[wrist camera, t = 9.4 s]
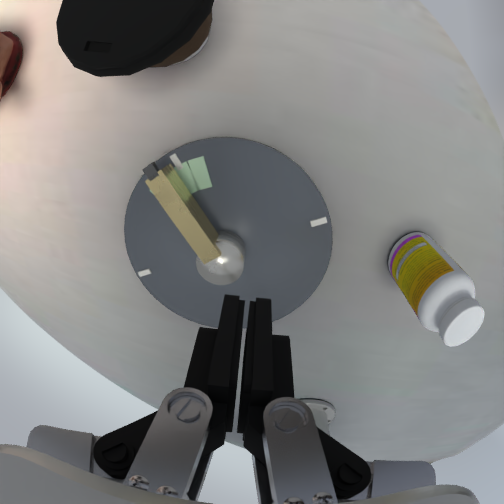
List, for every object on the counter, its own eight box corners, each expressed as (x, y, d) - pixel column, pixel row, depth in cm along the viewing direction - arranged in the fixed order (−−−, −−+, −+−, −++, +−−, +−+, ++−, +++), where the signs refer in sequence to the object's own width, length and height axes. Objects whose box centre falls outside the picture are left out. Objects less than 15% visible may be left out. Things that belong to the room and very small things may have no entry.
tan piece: (253, 257, 29) (252, 276, 26) (217, 275, 30) (212, 295, 27) (179, 145, 24) (167, 151, 21) (143, 171, 25) (128, 181, 22)
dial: (345, 297, 33) (347, 304, 32) (180, 335, 37) (178, 342, 36) (297, 107, 23) (298, 106, 22) (98, 185, 27) (91, 189, 26)
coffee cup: (209, 99, 23) (167, 91, 13) (110, 75, 22) (31, 70, 11) (252, 2, 18) (244, -62, 8) (149, -15, 17) (93, -62, 6)
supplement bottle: (377, 273, 31) (420, 353, 20) (400, 223, 28) (462, 290, 17) (418, 283, 32) (464, 355, 20) (441, 238, 29) (502, 301, 17)
